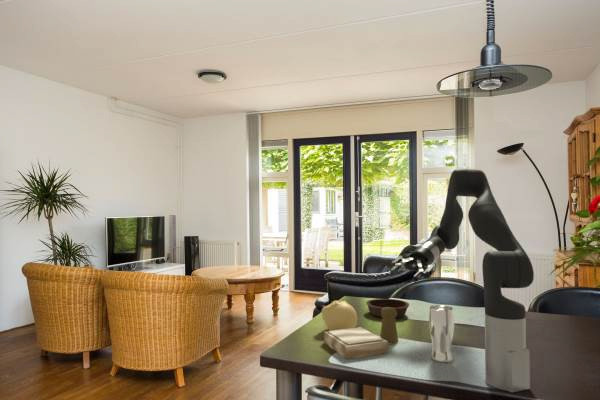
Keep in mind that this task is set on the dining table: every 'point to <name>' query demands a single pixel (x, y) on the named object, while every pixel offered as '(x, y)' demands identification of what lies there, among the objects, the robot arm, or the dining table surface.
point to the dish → (378, 304)
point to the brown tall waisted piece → (389, 325)
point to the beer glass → (441, 332)
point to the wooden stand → (355, 342)
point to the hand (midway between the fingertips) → (402, 276)
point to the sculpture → (339, 316)
